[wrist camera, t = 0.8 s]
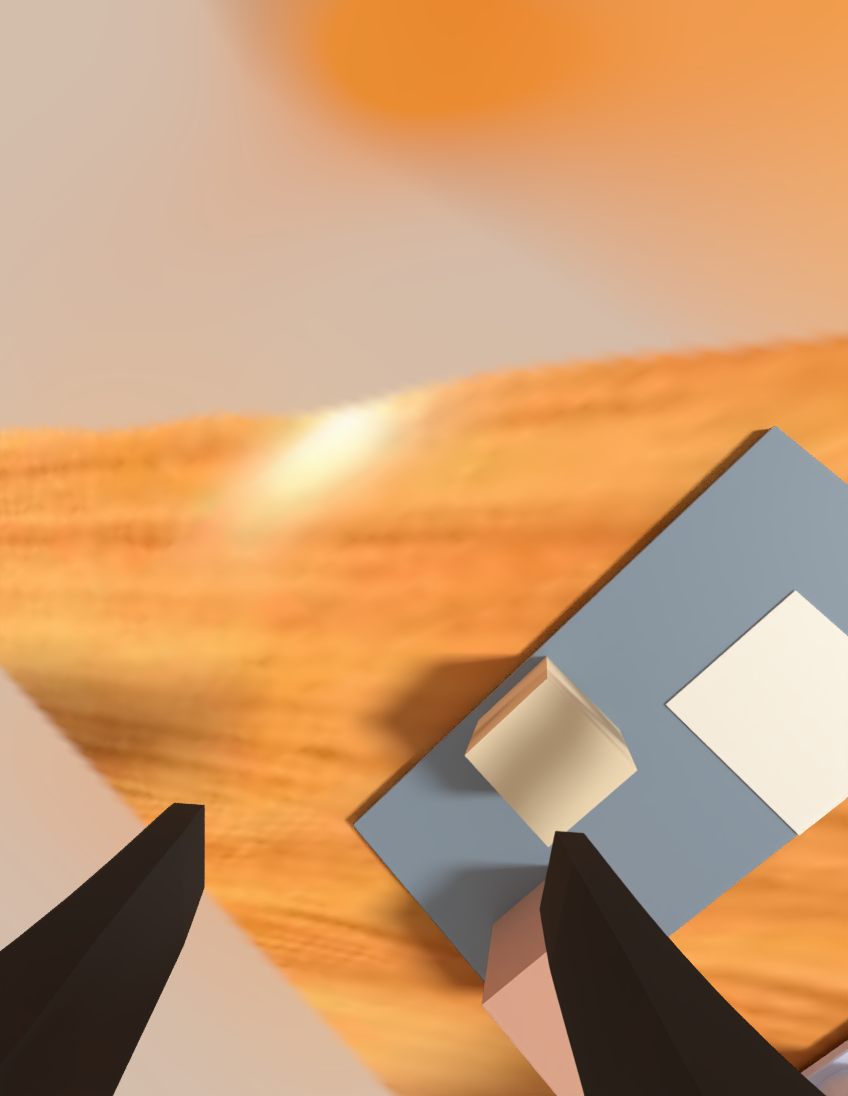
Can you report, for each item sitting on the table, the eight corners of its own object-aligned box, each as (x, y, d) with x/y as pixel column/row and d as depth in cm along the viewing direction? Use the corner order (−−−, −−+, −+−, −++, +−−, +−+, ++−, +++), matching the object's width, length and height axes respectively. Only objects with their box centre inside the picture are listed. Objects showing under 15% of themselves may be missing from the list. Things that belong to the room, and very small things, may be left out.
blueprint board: (1027, 640, 23) (1042, 643, 22) (535, 1031, 27) (535, 1044, 26) (769, 428, 25) (776, 425, 24) (356, 820, 29) (352, 826, 29)
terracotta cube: (636, 947, 25) (658, 1039, 21) (563, 1005, 26) (567, 1108, 21) (562, 865, 26) (566, 935, 21) (492, 924, 27) (481, 1005, 22)
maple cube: (619, 729, 26) (637, 770, 21) (547, 793, 26) (548, 847, 22) (546, 655, 27) (547, 678, 22) (478, 720, 27) (464, 755, 22)
